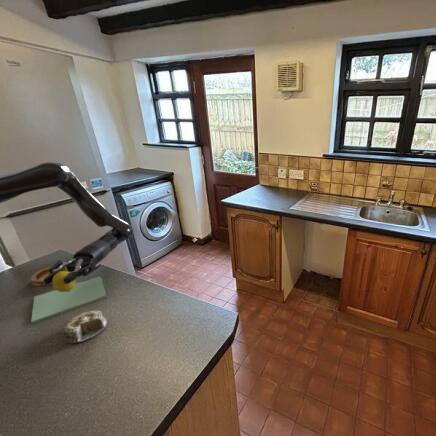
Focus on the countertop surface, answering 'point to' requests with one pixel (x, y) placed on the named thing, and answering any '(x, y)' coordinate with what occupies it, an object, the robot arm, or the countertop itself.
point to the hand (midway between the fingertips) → (55, 281)
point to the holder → (41, 277)
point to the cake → (84, 326)
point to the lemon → (62, 282)
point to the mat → (67, 299)
